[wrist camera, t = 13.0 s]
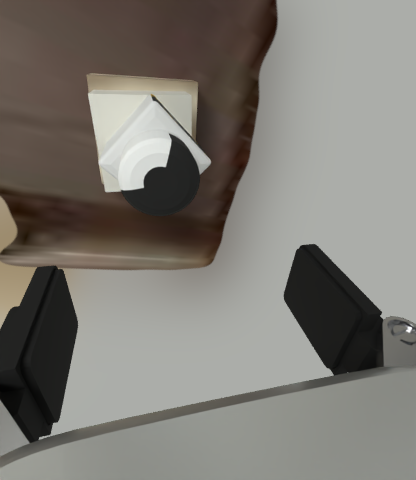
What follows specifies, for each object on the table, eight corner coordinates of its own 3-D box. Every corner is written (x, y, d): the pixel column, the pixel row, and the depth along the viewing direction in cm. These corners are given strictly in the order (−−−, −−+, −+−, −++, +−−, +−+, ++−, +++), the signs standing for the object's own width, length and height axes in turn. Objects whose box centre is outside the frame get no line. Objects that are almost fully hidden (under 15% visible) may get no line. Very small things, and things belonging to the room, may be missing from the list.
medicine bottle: (199, 144, 31) (227, 181, 21) (155, 188, 33) (163, 242, 23) (151, 91, 27) (158, 107, 17) (104, 144, 29) (87, 185, 19)
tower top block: (93, 89, 30) (88, 93, 26) (184, 91, 32) (191, 95, 28) (108, 178, 35) (105, 192, 32) (185, 174, 37) (191, 187, 34)
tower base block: (91, 73, 33) (86, 74, 29) (191, 80, 36) (198, 82, 32) (104, 171, 39) (101, 183, 36) (188, 171, 42) (193, 182, 38)
